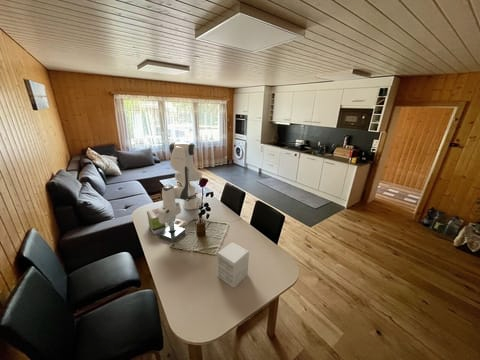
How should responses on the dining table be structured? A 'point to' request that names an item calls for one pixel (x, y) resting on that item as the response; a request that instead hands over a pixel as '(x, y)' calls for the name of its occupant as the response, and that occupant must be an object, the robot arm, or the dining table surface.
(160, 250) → the dining table surface
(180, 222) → the holster
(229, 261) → the supplement box
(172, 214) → the robot arm
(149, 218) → the tea box
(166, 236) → the port block
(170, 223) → the plug peg
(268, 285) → the dining table surface
